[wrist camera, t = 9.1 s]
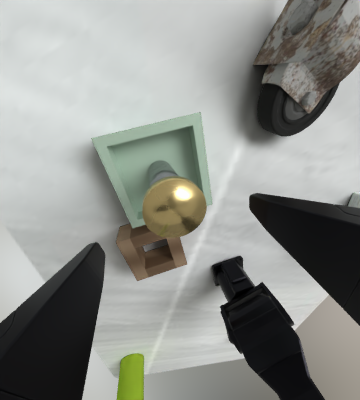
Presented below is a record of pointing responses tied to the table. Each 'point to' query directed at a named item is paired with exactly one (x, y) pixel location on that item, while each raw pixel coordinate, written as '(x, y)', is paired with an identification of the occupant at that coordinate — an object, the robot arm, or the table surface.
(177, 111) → the table surface
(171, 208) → the pin
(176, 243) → the socket block
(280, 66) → the caster wheel
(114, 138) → the tray
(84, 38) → the table surface
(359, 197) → the skincare box
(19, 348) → the robot arm
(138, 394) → the soap dispenser
